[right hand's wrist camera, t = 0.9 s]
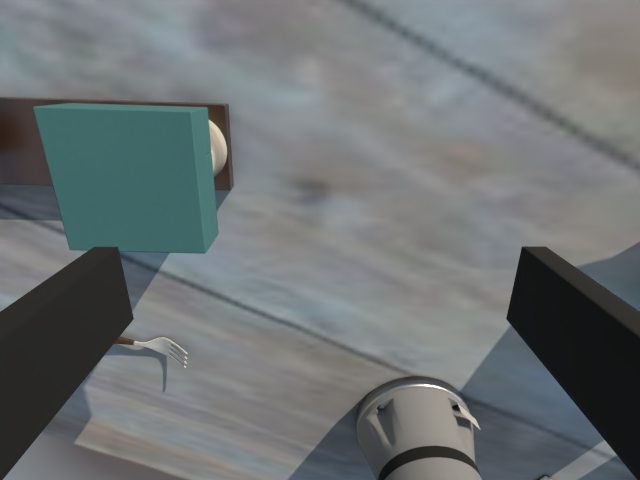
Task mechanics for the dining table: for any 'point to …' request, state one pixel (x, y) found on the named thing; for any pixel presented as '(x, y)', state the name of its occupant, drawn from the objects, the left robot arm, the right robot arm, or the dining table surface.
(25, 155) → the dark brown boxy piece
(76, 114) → the cap block
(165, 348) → the fork
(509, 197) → the dining table surface
